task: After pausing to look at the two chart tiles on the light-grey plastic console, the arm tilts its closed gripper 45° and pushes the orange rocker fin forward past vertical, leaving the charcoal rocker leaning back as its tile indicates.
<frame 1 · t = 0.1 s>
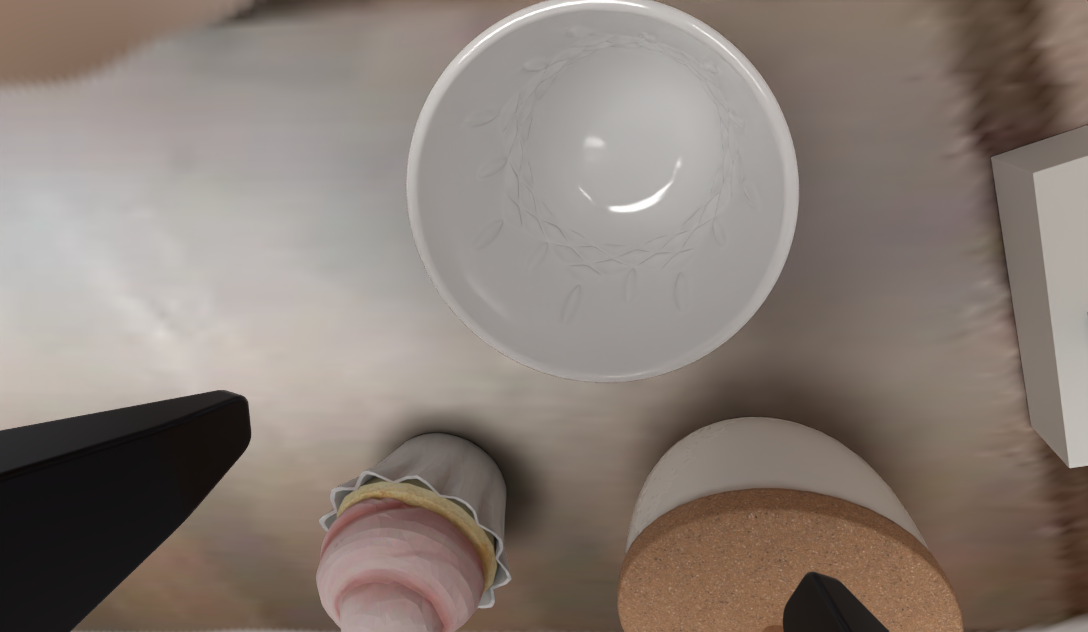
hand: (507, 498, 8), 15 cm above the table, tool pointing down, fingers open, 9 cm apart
cupcake: (452, 475, 30), on the table
lidded jar: (750, 468, 25), on the table
white cup: (628, 139, 20), on the table
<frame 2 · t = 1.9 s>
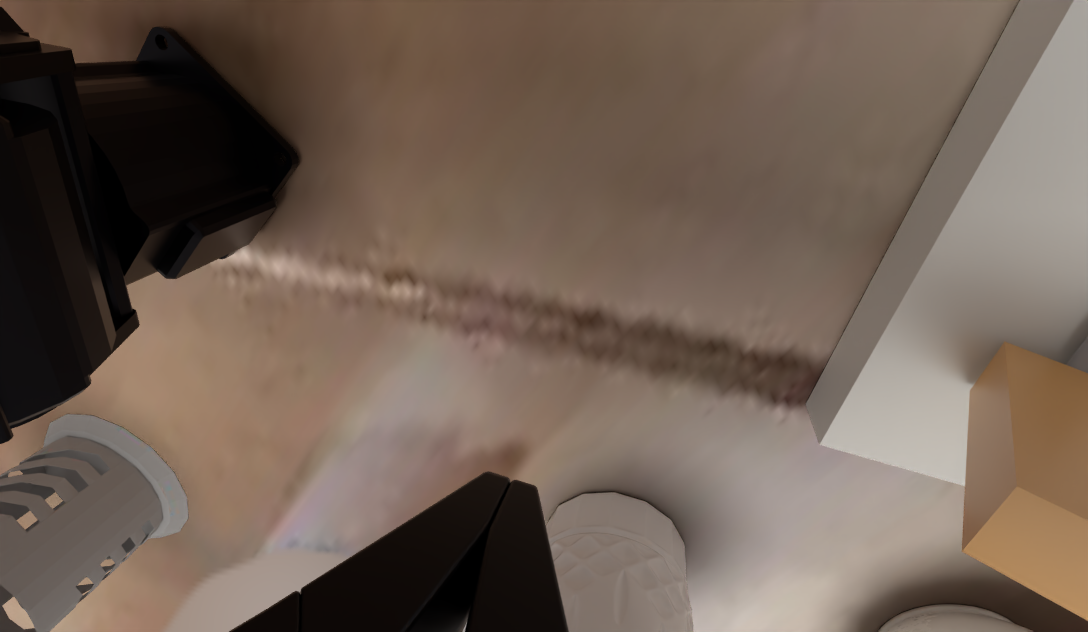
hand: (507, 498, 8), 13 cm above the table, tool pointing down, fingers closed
french press: (110, 477, 34), on the table
white cup: (614, 539, 27), on the table
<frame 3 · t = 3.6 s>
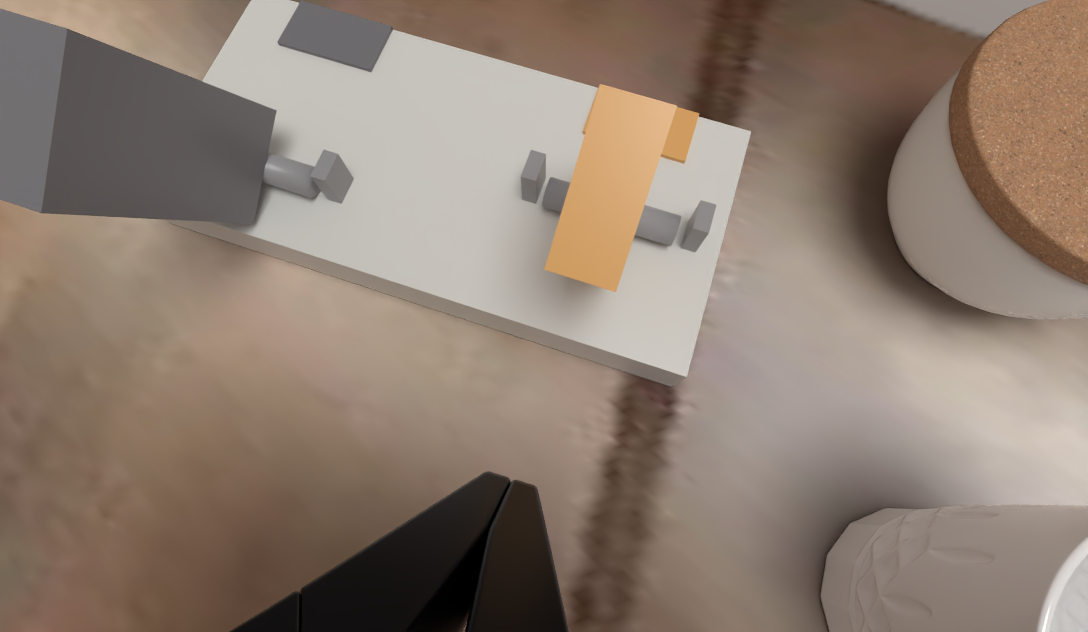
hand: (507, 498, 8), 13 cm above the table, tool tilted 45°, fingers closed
charcoal rocker: (173, 146, 18), point 7 cm above the table, hinge at -25.0°
orange rocker: (609, 204, 17), point 7 cm above the table, hinge at -25.0°
lidded jar: (957, 235, 25), on the table
switch console: (457, 192, 25), on the table
white cup: (906, 602, 20), on the table
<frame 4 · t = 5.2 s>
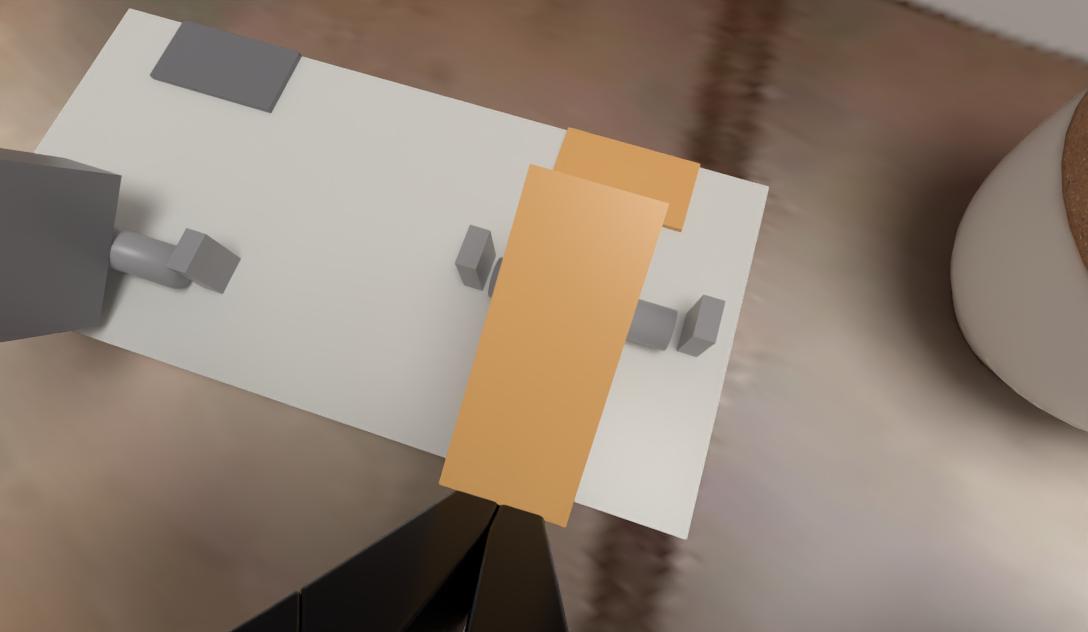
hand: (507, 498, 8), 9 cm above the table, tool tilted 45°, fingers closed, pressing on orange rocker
orange rocker: (572, 316, 12), point 7 cm above the table, hinge at -22.4°, touching gripper
lidded jar: (1037, 313, 19), on the table
switch console: (389, 264, 19), on the table
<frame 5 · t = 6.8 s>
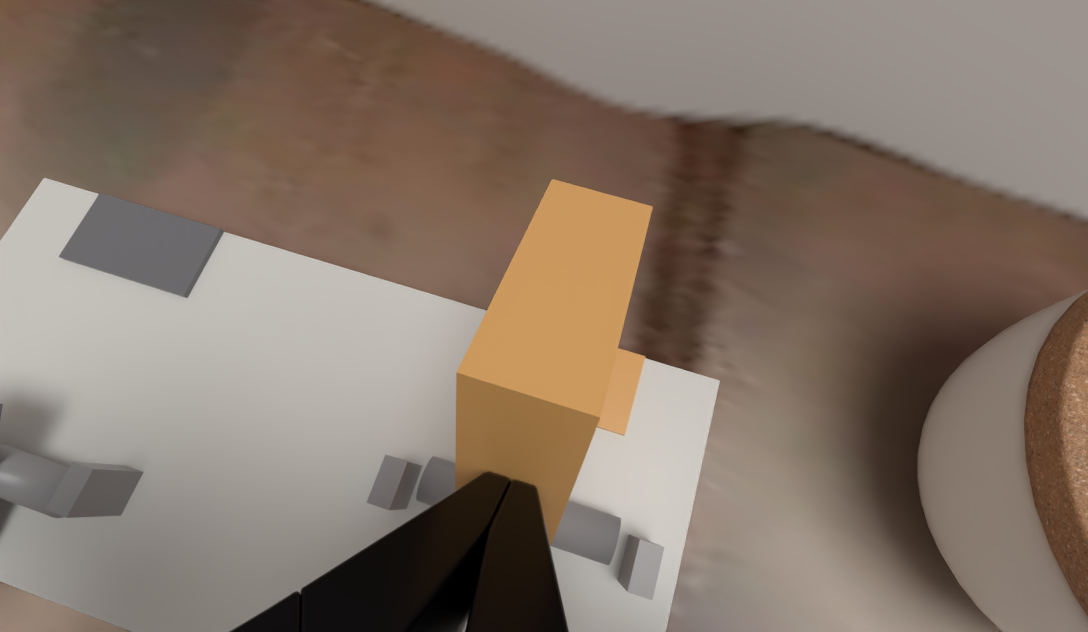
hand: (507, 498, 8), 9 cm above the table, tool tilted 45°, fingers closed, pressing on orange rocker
orange rocker: (535, 433, 11), point 7 cm above the table, hinge at 24.3°, touching gripper
lidded jar: (1014, 498, 18), on the table
switch console: (317, 449, 18), on the table
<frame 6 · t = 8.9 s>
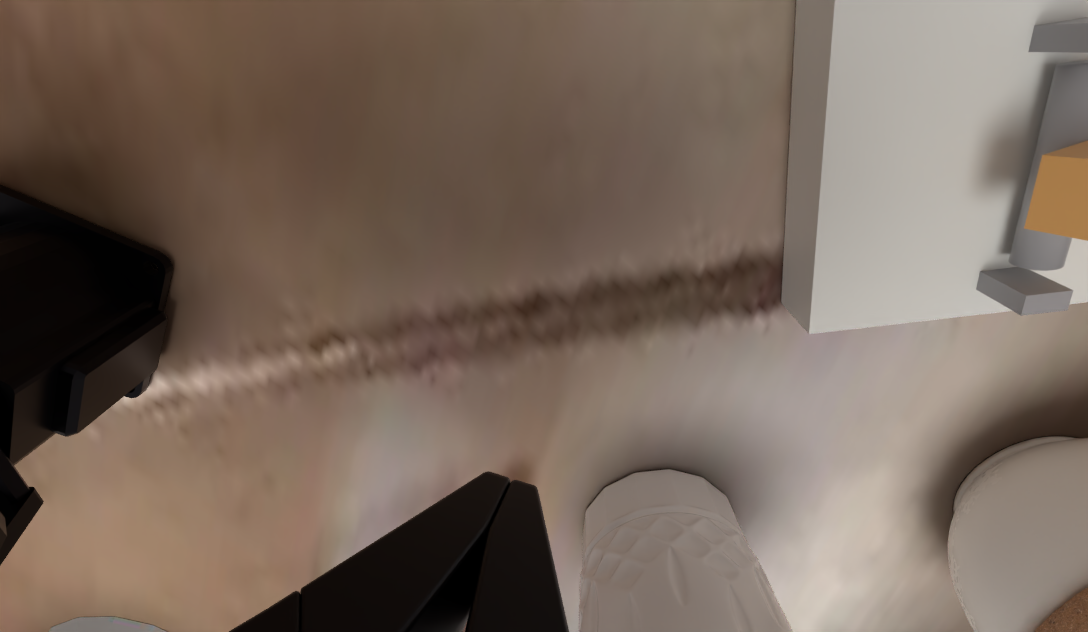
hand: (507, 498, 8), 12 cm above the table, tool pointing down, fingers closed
lidded jar: (1024, 488, 24), on the table
white cup: (656, 521, 25), on the table
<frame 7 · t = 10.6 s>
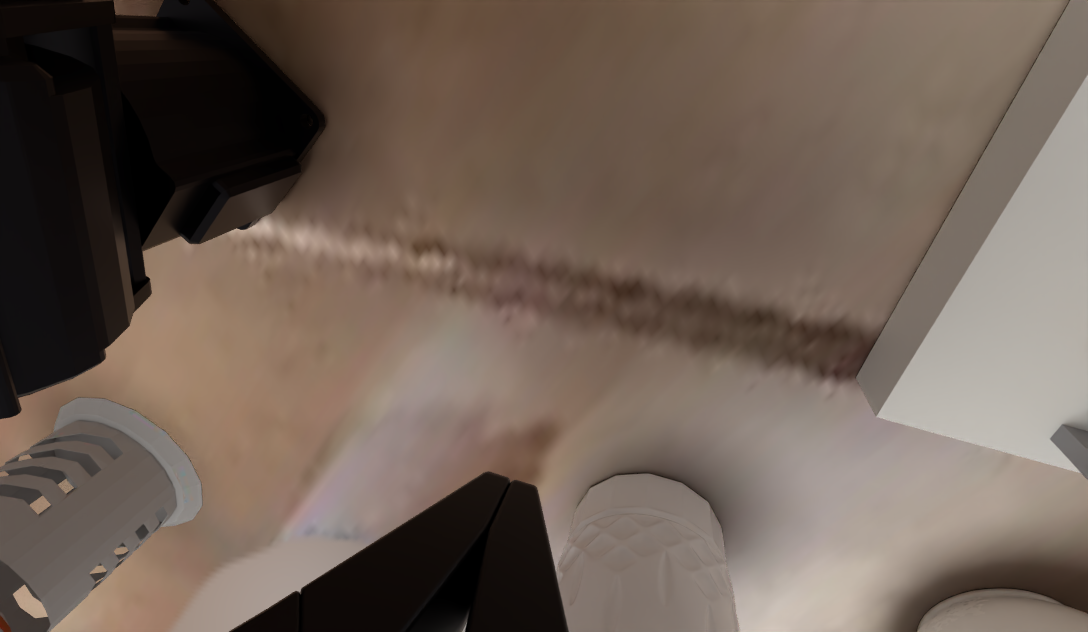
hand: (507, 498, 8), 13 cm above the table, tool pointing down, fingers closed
french press: (121, 464, 33), on the table
lidded jar: (993, 630, 24), on the table
white cup: (646, 523, 26), on the table
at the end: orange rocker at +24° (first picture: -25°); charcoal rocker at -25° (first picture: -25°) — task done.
